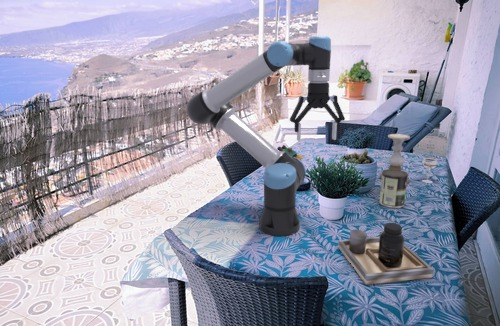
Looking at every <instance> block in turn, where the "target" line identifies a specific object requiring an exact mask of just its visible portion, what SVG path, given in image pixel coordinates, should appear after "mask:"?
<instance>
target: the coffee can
mask: <svg viewBox="0 0 500 326" xmlns="http://www.w3.org/2000/svg"><path fill="white" fill-rule="evenodd" d="M381 174H382V179H380V181H381V182H380V193H379V204H380V205H382V206H384V207H386V208H390V209H391V208H392V209H399V208H400V209H401V208H403V207H405V200H406V194H407V193H406V191H407V185H408V184H407V179H408V176H409V173H408V172H406V171H404V170H393V169H389V168H388V169H384V170H382V171H381Z"/></svg>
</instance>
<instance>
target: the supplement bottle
mask: <svg viewBox="0 0 500 326" xmlns="http://www.w3.org/2000/svg"><path fill="white" fill-rule="evenodd" d="M402 230H403V227H402V225H400V224H398V223H395V222H387V223H386V222H385V224H384V226H383V230H382V232H380V235H379V237H380V239H379V250H378V259H379V260H380V262H381V263H382V264H383V265H384V266H386V267H391V268H396V267H399V266H400V265H401V264H402V259H403V250H404V244H405V236H404V235H403V231H402Z"/></svg>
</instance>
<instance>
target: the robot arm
mask: <svg viewBox="0 0 500 326" xmlns="http://www.w3.org/2000/svg"><path fill="white" fill-rule="evenodd" d="M331 46H332V39H331V37H329V36H327V35H326V36H325V35H318V36H317V35H316V36H311V37H310V38H309V40H308V42H306V43H291V42H287V41H283V40H280V41H279V40H278V41H275V42H273V43H271V44H270V45H269V47H268V49H267V50H265V51H264V52H263V53H261V54H260V55H258V56H256V57H255V58H254V59H252V60H251V61H250V62H248V63H247V64H244V65H243V66H242V67H241V68H239V69H238V70H236V71H235V72H233V73H231V74H230V75H228V76H227V77H226V78H224V79H223V80H222V81H220V82H219V83H217V84H215V85H214V86H213V87H211V88H210V89H203V90H202V91H201V92H199V93H197V94H195V95H194V96H192V97H191V98H190V99H189V100H188V102H187V104H186V113H187V116H188V118H189V119H190V120H191V121H192V122H194V123H195V124H197V125H207V124H210V125H211V126H212V127H213V128H214V129H215V130H222V131H223V132H224V133H225V134H226V135H228V136H229V138H231V139H232V140H233V141H234V142H235V143H237V144H238V145H239V146H240V147H241V148H243V149H244V150H245V151H246V152H247V153H248V154H249V155H251V156H252V157H253V158H254V159H255V160H256V161H257V162H258V163H259V164H261V165H262V166H263V167H264V168H265V169H264V172H263V179H262V180H263V210H262V212H261V216H260V219H259V228H260V230H261V231H262V232H263V233H265V234H268V235H271V236H276V237H277V236H278V237H284V236H292V235H294V234H296V233H297V232H298V231H299V230H300V227H301V226H300V224H301V223H300V218H299V216H298V215H299V214H298V212H297V209H296V202H297V201H296V197H297V194H296V193H297V190H298V189H299V187H300V186H301V185H302V183H304V180H305V179H306V174H307V169H306V166H305V164H304V162H303V161H302V159H301V160H300V159H298V158H296V157H291V156H289V155H288V154H287V153H286V152H285V151H283V152H281V151H279V150H278V149H277V148H276V147H274V146H273V145H272V144H271V143H270V142H269V141H267V140H266V139H265V138H264V137H263V136H262V135H261V134H259V133H258V132H257V131H256V130H255V129H254V128H252V127H251V126H250V125H249V124H248V123H247V122H246V121H244V120H243V119H242V118H241V117H240V116H239V115H238V114H237V113H236V108H235V107H234V106H233V105H232V104H231V102H232V101H233V100H235V99H236V98H237V97H239V96H241V95H242V94H243V93H246V92H247V91H249V90H251V89H252V88H253V87H254V86H256V85H258V84H259V83H261V82H262V81H263V80H265V79H267V78H268V77H270V76H271V75H274V73H276V72H279V70H280V71H281V69H283V68H284V67H288V66H290V67H291V66H308V69H307V70H308V75H307V76H308V77H307V81H308V82H309V83H308V84H307V96H302V95H299V96H298V102H297V104H296V106H295V108H294V109H293V112H292V114H291V116H290V117H289V121H290V122H291V123H293V124H294V132H295V133H296V141H298V142H301V137H302V136H301V135H302V133H301V132H302V123H300V122H301V121H302V120H303V119H304V118H305V116H306V115H307V114H308V113H309V112H310V110H312V109H313V110H314V109H325V110H326V111H327V113H328V114H329V115H330V116H331V118H332V120H333V121H332V124H331V125H332V128H331V129H332V130H331V139H332V140H334V141H336V140H337V132H338V131H340V123H341V122H342V121H345V119H346V118H345V116H344V113H343V112H342V111H343V110H342V109H341V107H340V104H339V101H338V95H335V94H333V95H329V93H330V83H329V81H330V75H331V74H330V73H331V72H330V71H331V56H332V55H331V54H332V47H331ZM305 101H307V105H306V106H305V107H304V108H303V109H302V111H301V112H300V110H301V108H302V107H303V105H304V103H305ZM329 101H331V103H332V105H333V107H334V110H335V111H336V113H335V112H334V110H332V108H331V107H330V105H329V104H328V103H329ZM299 112H300V113H299Z"/></svg>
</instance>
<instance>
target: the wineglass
mask: <svg viewBox="0 0 500 326" xmlns="http://www.w3.org/2000/svg"><path fill="white" fill-rule="evenodd" d="M422 159H423V160H422V162H421V163H422V165H423V167H424V168H425V169H426V170H427V176H426V177H427V178H426V179H422V180H421V182H423V183H426V184H432V183H433V181H432V180H430V179H429V176H430V171H431V170H433V169H435V168H436V167H437V165H438V160H439V159H438V158H435V157H430V156H425V157H423V158H422Z"/></svg>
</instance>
